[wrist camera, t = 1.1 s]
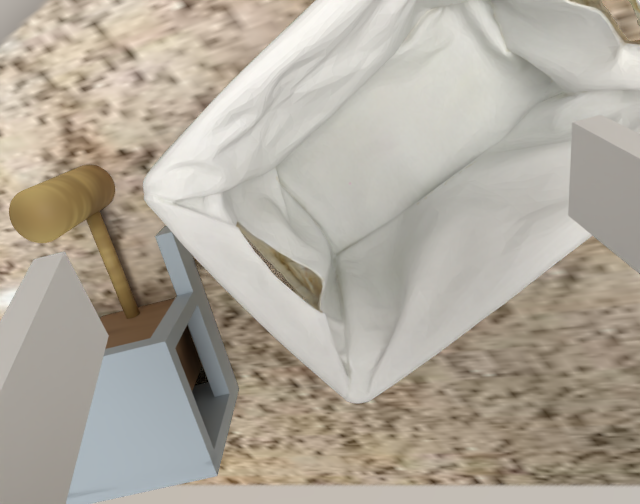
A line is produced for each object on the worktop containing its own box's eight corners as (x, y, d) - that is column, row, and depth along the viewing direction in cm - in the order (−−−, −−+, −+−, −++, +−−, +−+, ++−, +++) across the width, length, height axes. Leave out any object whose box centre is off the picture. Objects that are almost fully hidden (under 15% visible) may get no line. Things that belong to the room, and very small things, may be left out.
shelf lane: (239, 388, 44) (217, 475, 35) (116, 417, 45) (62, 509, 36) (180, 222, 40) (137, 270, 31) (46, 257, 41) (-37, 314, 31)
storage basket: (468, -118, 34) (574, -252, 20) (611, 91, 37) (786, 105, 23) (189, 145, 39) (115, 189, 25) (341, 307, 42) (352, 425, 28)
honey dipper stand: (202, 365, 44) (177, 428, 36) (130, 382, 44) (91, 448, 37) (123, 154, 39) (75, 175, 31) (43, 176, 39) (-24, 202, 31)
